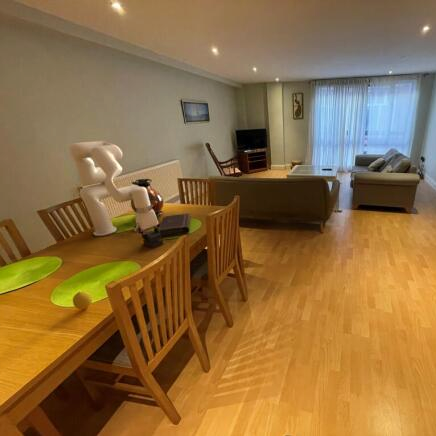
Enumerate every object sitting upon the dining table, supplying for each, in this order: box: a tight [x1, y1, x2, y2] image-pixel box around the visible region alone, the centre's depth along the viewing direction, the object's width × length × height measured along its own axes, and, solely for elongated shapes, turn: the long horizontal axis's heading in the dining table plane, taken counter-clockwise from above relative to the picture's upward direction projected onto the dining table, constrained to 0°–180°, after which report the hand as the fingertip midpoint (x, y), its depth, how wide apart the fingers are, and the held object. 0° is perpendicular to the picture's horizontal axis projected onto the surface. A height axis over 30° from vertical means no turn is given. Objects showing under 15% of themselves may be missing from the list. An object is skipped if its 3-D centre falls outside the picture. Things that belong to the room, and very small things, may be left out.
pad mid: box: [140, 230, 163, 242], centre depth 141 cm, size 10×6×3 cm, turn 58°
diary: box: [158, 213, 191, 238], centre depth 164 cm, size 19×25×5 cm
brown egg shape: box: [72, 290, 93, 310], centre depth 93 cm, size 6×6×8 cm
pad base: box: [142, 238, 164, 249], centre depth 143 cm, size 10×6×3 cm, turn 58°
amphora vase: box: [130, 178, 165, 218], centre depth 181 cm, size 22×22×28 cm
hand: (151, 237), depth 142 cm, fingers closed on pad mid, 6 cm apart
